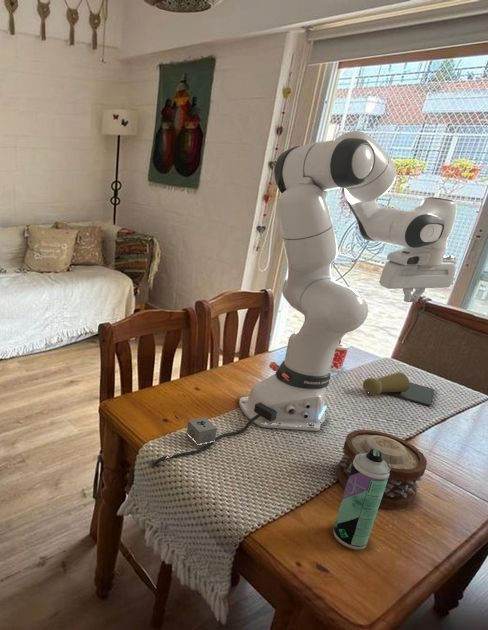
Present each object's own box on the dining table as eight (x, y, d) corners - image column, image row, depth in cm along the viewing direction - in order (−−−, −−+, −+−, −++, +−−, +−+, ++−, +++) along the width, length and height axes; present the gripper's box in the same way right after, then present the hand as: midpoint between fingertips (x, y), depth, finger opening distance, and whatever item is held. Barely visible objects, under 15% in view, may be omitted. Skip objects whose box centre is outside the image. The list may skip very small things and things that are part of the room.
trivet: (429, 406, 126) (430, 404, 126) (380, 392, 134) (380, 390, 134) (433, 390, 135) (433, 388, 135) (386, 377, 142) (387, 376, 142)
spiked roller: (450, 468, 86) (374, 467, 86) (434, 510, 90) (361, 510, 90) (398, 423, 100) (332, 423, 100) (385, 462, 104) (322, 462, 104)
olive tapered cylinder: (409, 395, 130) (374, 400, 129) (392, 387, 136) (359, 392, 135) (410, 376, 129) (375, 381, 128) (393, 369, 135) (359, 374, 134)
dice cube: (202, 433, 114) (205, 417, 113) (214, 444, 110) (216, 428, 108) (186, 436, 113) (188, 420, 111) (197, 448, 108) (199, 431, 107)
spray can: (354, 525, 86) (380, 441, 79) (373, 549, 81) (402, 461, 74) (327, 526, 86) (350, 442, 79) (344, 550, 81) (371, 462, 74)
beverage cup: (318, 365, 150) (327, 327, 145) (332, 363, 152) (341, 325, 147) (333, 373, 145) (343, 334, 140) (348, 371, 146) (358, 332, 141)
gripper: (448, 252, 129) (433, 297, 134) (382, 254, 127) (370, 299, 132) (467, 257, 123) (452, 304, 128) (399, 259, 121) (386, 306, 126)
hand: (410, 301), depth 130 cm, fingers closed
